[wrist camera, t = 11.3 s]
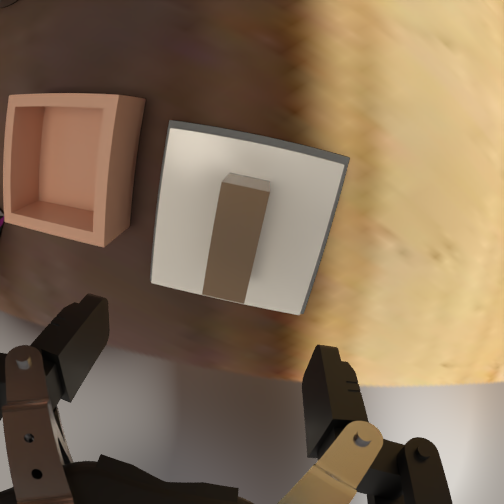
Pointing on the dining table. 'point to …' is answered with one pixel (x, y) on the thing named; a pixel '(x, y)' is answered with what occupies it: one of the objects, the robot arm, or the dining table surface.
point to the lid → (241, 219)
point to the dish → (71, 163)
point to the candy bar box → (1, 219)
